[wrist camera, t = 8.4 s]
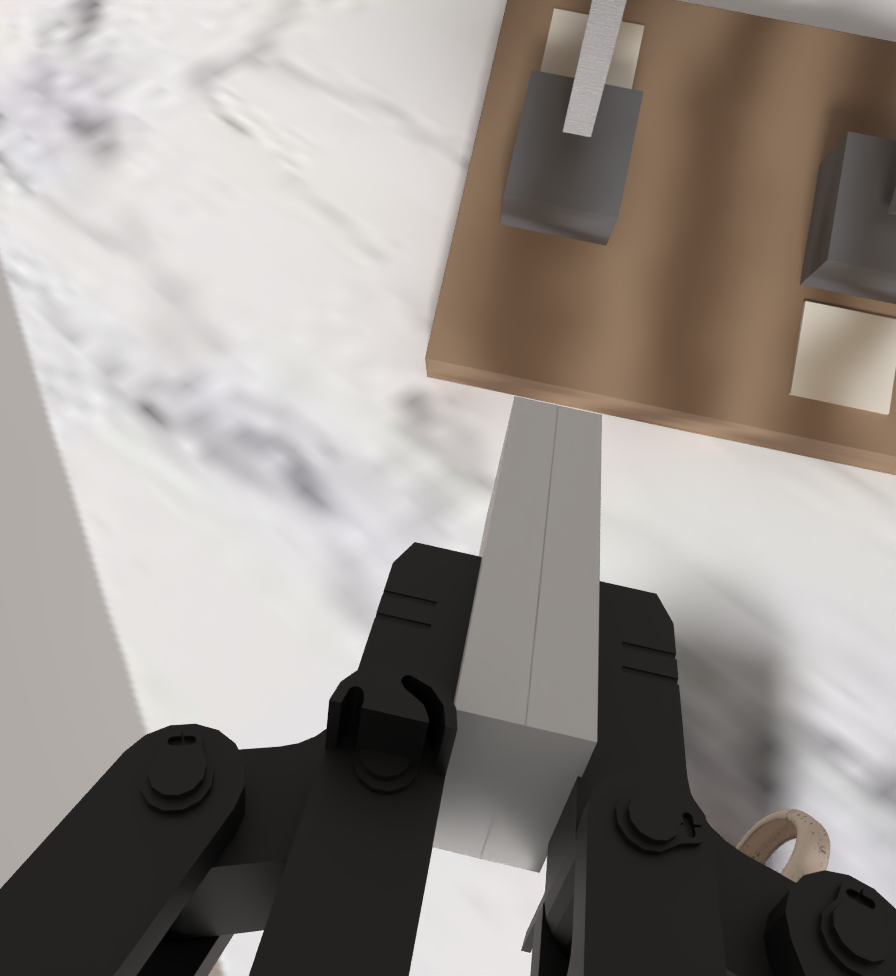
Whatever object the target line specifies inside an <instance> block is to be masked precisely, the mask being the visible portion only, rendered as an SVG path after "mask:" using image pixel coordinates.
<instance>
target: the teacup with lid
mask: <svg viewBox="0 0 896 976" xmlns="http://www.w3.org/2000/svg"><path fill="white" fill-rule="evenodd" d="M794 838H796V844H795V847H794V850H793V853H792V855H791V857H790V859H789V861H788V863H787V864H786V866H785V868H784V869H783V871H782V872H781V875H783V876H785V877H787V878H788V879H790V880H792V881H794V882H797V881H798V880H799V879H800V878H801V877H802V876H803V875H806V874H810V873H814V872H819V871H823V870H825V871H826V868H827V865H828V861H829V855H830V840H829V836H828V834H827V832H826V830H825V829H824V827H823V826H822V825H821V824H820V823H819V822H818V821H816V820H815V819H814V818H812V817H811V816H810V815H808V814H806V813H805V812H803V811H800V810H796V809H783V810H779V811H776V812H773V813H771V814H769V815H767V816H765V817H763V818H762V819H761V820H759V821H758V822H757V823H756V824H754V825H753V826H752V827H751V828H750V829H749V831H748V832H747V833H746V834H745V835H744V836H743V838H742V839H741V840H740V842H739V843H738V844H737V846H736V847H735V848H736V849H738V850H739V851H741V852H742V853H744V854H745V855H747V856H749V857H751V858H753V859H754V860H756V861H758V862H760V863H762V864H763V865H764V864H765V862H766V861H767V860H768V858H769V857H770V856H771V855H772V854H773V853H774V851H775V850H776V849H778V848H779V847H780V846H781V845H782V844H784V843H785V842H787V841H789V840H792V839H794Z"/></svg>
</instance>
